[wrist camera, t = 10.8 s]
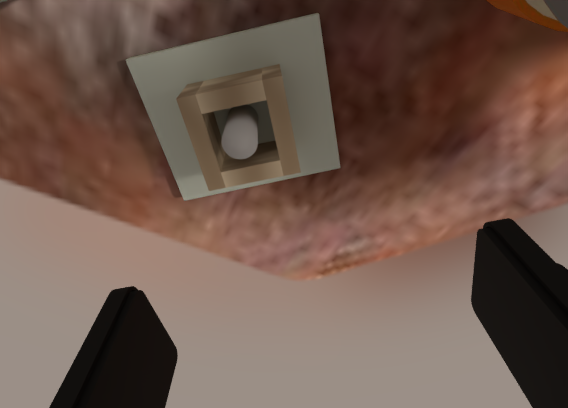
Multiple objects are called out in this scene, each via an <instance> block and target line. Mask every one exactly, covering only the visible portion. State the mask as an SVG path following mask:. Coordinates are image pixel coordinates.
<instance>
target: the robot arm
mask: <svg viewBox="0 0 568 408" xmlns="http://www.w3.org/2000/svg"><path fill="white" fill-rule="evenodd" d="M471 302H472V307H473V309H474V311H475V313H476V315H477V317H478V319H479V320H480V322H481V323H482V325H483V327H484V328H485V330H486V332H487V333H488V335H489V336H490V338H491V340H492V341H493V343H494V345H495V346H496V348H497V350H498V351H499V353H500V354H501V356H502V358H503V360H504V361H505V363H506V365H507V366H508V368H509V370H510V371H511V373H512V374H513V376H514V377H515V379H516V381H517V383H518V384H519V386H520V388H521V389H522V391H523V393H524V394H525V396H526V397H527V399H528V401H529V402H530V404H531V406H532V407H533V408H568V270H567V269H566V268H565V267H563V266H562V265H560V264H558V263H555V261H553V260H552V258H550V256H548V255H547V254H546V253H545V252H544V251H543V250H542V249H541V248H540V247H539V246H538V245H537V244H536V243H535V242H534V241H533V240H532V239H531V238H530V237H529V236H528V235H527V234H526V233H525V232H524V231H523V230H522V229H521V228H520V227H519V226H518V225H517V224H516V223H515V222H514V221H513V220H512V219H509V218H508V219H502V220H496V221H491V222H486V223H485V224H484V226H483V229H479V230H478V232H477V240H476V252H475V262H474V274H473V285H472V296H471ZM176 363H177V349H176V347H175V345H174V343H173V341H172V340H171V338H170V336H169V335H168V333H167V331H166V330H165V328H164V326H163V324H162V323H161V321H160V319H159V318H158V316H157V314H156V313H155V311H154V309H153V307H152V306H151V304H150V302H149V301H148V299H147V297H146V295H145V294H144V292H143V291H141V290H138V289H137V288H136V287H134V286H132V287H125V288H120V289H115V290H113V291H111V292H110V294H109V295H108V297H107V299H106V301H105V303H104V305H103V307H102V309H101V311H100V313H99V314H98V316H97V318H96V320H95V322H94V324H93V326H92V328H91V330H90V331H89V334H88V335H87V337H86V339H85V341H84V343H83V345H82V347H81V349H80V351H79V352H78V354H77V356H76V358H75V360H74V362H73V364H72V366H71V368H70V370H69V371H68V373H67V375H66V377H65V379H64V381H63V383H62V385H61V387H60V388H59V390H58V392H57V394H56V396H55V398H54V400H53V402H52V403H51V405H50V407H49V408H165V405H166V402H167V397H168V393H169V390H170V386H171V382H172V378H173V374H174V370H175V366H176Z"/></svg>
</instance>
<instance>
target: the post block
mask: <svg viewBox="0 0 568 408" xmlns="http://www.w3.org/2000/svg"><path fill="white" fill-rule="evenodd" d="M126 63H127V65H128V67H129V70H130V72H131V75H132V77H133V79H134V82H135V84H136V87H137V89H138V91H139V94H140V96H141V99H142V101H143V103H144V106H145V108H146V111H147V113H148V115H149V118H150V120H151V123H152V125H153V127H154V130H155V132H156V135H157V137H158V139H159V142H160V144H161V146H162V149H163V151H164V154H165V156H166V158H167V161H168V163H169V166H170V168H171V170H172V173H173V175H174V178H175V180H176V182H177V185H178V187H179V190H180V192H181V194H182V197H183V199H184V201H186V200H191V199H196V198H200V197H205V196H210V195H215V194H219V193H224V192H229V191H234V190H238V189H243V188H248V187H253V186H257V185H262V184H267V183H272V182H276V181H281V180H286V179H291V178H295V177H300V176H305V175H310V174H314V173H319V172H324V171H329V170H333V169H338V168H340V161H339V154H338V146H337V139H336V132H335V125H334V118H333V111H332V103H331V96H330V89H329V82H328V75H327V68H326V60H325V53H324V46H323V39H322V32H321V25H320V17H319V13H314V14H310V15H306V16H301V17H297V18H293V19H289V20H285V21H281V22H276V23H272V24H268V25H264V26H260V27H255V28H251V29H247V30H243V31H239V32H235V33H230V34H226V35H222V36H218V37H214V38H209V39H205V40H201V41H197V42H193V43H188V44H184V45H180V46H176V47H172V48H168V49H163V50H159V51H155V52H151V53H147V54H142V55H138V56H134V57H130V58H128V59H126ZM277 64H280V69H281V73H282V78H283V83H284V89H285V94H286V99H287V104H288V109H289V114H290V119H291V124H292V130H293V135H294V140H295V145H296V150H297V155H298V160H299V165H300V171H301V173H296V174H291V175H286V176H281V177H276V178H271V179H266V180H261V181H256V182H252V183H247V184H242V185H237V186H232V187H227V188H222V189H217V190H212V191H209V190H208V187H207V184H206V182H205V179H204V176H203V173H202V170H201V168H200V165H199V162H198V159H197V156H196V154H195V151H194V148H193V145H192V142H191V140H190V137H189V134H188V131H187V128H186V126H185V123H184V120H183V117H182V114H181V112H180V109H179V106H178V103H177V100H176V98H177V97H178V96H179V94H180V93H181V92H182V90H183V89H184V88H185V87H186V85H187V84H191V83H196V82H200V81H205V80H210V79H214V78H219V77H223V76H228V75H232V74H237V73H241V72H246V71H250V70H255V69H259V68H264V67H268V66H273V65H277ZM214 115H215V118H216V121H217V125H218V128H219V131H220V134H221V138H222V147H223V149H224V151H225V152H226V153H227V154H228V155H229V156H230V157H232V158H235V159H246V158H248V157H250V156H252V155H253V154H254V153H255V151H256V149H257V146H258V144H261V143H265V142H270V141H275V136H274V131H273V127H272V122H271V118H270V113H269V109H268V104H267V100H265V101H260V102H255V103H251V104H246V105H241V106H237V107H232V108H228V109H223V110H218V111H214Z"/></svg>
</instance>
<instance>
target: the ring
mask: <svg viewBox="0 0 568 408" xmlns="http://www.w3.org/2000/svg"><path fill="white" fill-rule="evenodd" d="M176 100H177V103H178V106H179V109H180V112H181V114H182V117H183V120H184V123H185V126H186V128H187V131H188V134H189V137H190V140H191V142H192V145H193V148H194V151H195V154H196V156H197V159H198V162H199V165H200V168H201V170H202V173H203V176H204V179H205V182H206V184H207V187H208V190H209V191H212V190H217V189H222V188H227V187H232V186H237V185H242V184H247V183H252V182H256V181H261V180H266V179H271V178H276V177H281V176H286V175H291V174H296V173H301V171H300V165H299V160H298V155H297V150H296V145H295V140H294V135H293V130H292V124H291V119H290V114H289V109H288V104H287V99H286V94H285V89H284V83H283V78H282V73H281V69H280V64H277V65H273V66H268V67H264V68H259V69H255V70H250V71H246V72H241V73H237V74H232V75H228V76H223V77H219V78H214V79H210V80H205V81H200V82H196V83H191V84H187V85H186V87H185V88H184V89H183V90H182V92H181V93H180V94H179V96H178V97H177V98H176ZM265 100H267V104H268V109H269V113H270V118H271V122H272V127H273V131H274V136H275V141H270V142H265V143H261V144H258V146H257V149H256V151H255V153H254V154H253V155H252V156H250V157H248V158H246V159H235V158H232V157H230V156H229V155H228V154H227V153H226V152H225V151H224V149H223V147H222V138H221V134H220V131H219V128H218V125H217V121H216V118H215V115H214V111H218V110H223V109H228V108H232V107H237V106H241V105H246V104H251V103H255V102H260V101H265Z"/></svg>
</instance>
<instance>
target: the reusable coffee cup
mask: <svg viewBox="0 0 568 408" xmlns="http://www.w3.org/2000/svg"><path fill="white" fill-rule="evenodd" d="M486 1H487V2H489V3H490V4H492V5H493V6H494V7H496V8H498V9H500V10H503V11H506V12H508V13H511V14H514V15H516V16H519V17H521V18H524V19H527V20H529V21H532V22H535V23H537V24H540V25H542V26H545V27H548V28H550V29H553V30H556V31H565V32H568V0H486Z"/></svg>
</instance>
